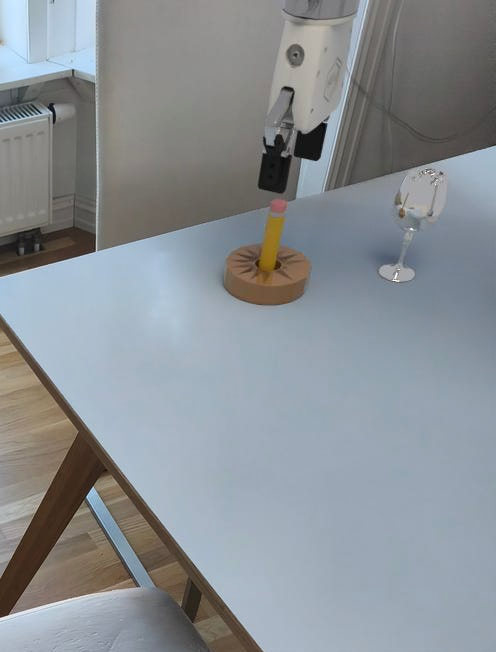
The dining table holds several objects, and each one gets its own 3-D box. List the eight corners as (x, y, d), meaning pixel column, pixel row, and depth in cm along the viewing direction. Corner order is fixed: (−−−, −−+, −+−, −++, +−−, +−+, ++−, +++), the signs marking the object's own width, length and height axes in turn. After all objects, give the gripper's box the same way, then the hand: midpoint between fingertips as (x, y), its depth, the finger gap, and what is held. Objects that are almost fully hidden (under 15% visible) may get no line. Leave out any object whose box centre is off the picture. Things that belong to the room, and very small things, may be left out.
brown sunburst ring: (301, 263, 115) (305, 243, 113) (310, 305, 109) (315, 286, 107) (221, 262, 116) (223, 243, 114) (225, 304, 110) (229, 284, 108)
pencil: (270, 277, 113) (286, 198, 105) (272, 285, 112) (288, 206, 104) (255, 277, 113) (269, 198, 105) (256, 285, 112) (271, 206, 104)
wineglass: (418, 287, 111) (452, 189, 101) (371, 280, 112) (400, 183, 103) (421, 265, 114) (454, 168, 105) (375, 259, 116) (404, 163, 106)
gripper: (323, 28, 83) (288, 211, 96) (389, -22, 92) (349, 152, 105) (249, 17, 86) (226, 196, 99) (320, -30, 95) (289, 140, 108)
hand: (289, 173), depth 102 cm, fingers open, 9 cm apart
